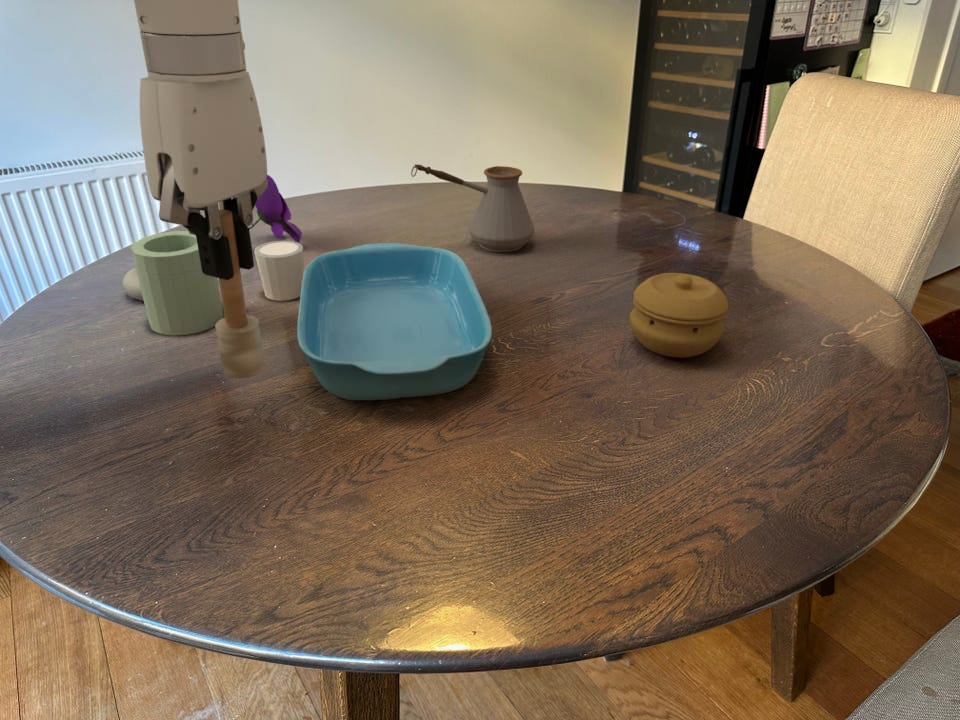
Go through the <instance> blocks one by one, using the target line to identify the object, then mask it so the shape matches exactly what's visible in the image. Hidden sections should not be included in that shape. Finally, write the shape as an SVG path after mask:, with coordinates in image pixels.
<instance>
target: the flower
mask: <svg viewBox="0 0 960 720" xmlns="http://www.w3.org/2000/svg"><path fill="white" fill-rule="evenodd" d="M266 179H267V181H268V187H267V189H266V190H265V191H264V192H263V193H262V194H261V195H260V196H259V198H257V201H256V204H255V206H254V207H255V208H256V214H257V216H258V219H257V220H256V221H255V222H254V223H252V224H251V226H249V231H250V230H251V229H253V228H254V227H256V225H257V224H258V223H259V222H260V221H261V222H263V223H264V224H266V225H268V226H270V230H271V232H272V234H273V236H274V237H278V238H283V236H284V232H285V233H286V234H287V235H289V236H290V237H291V238H292V240H293V241H294V242H297V243H300V244H301V239H302V235H303V232H302V231H301V229H300V228H299V227H298V226H297V225H296V224H295V223H292V222H290V221H291V219H292V213H291V211H290V208H289V206H288V204H287V202H286V200H285V198H284V196H283V195H282V193H281V192H280V190H279V187H278V185H277V183H276V181H275V180H274V179H273V177H272V176H270V174H267V177H266Z"/></svg>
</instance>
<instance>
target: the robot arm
mask: <svg viewBox="0 0 960 720" xmlns="http://www.w3.org/2000/svg"><path fill="white" fill-rule="evenodd" d="M133 2H134V8H135V13H136V17H137V23H138V28H139V35H140V40H141V44H142V45H141V46H142V50H143V57H144V61H145V62H144V63H145V66H146V67H145V68H146V72H147V76H146V77H141V78H140V83H139V118H140V119H139V123H140V133H141V134H140V135H141V144H142V151H143V158H144V166H145V172H146V177H147V183H148V188H149V191H150V195H151V196H152V198H153V200H156V201H159V202H160V203H159V210H158V219H159V220H160V221H161V222H163V223H164V222H165V223H169V224H175V225H179V226H180V225H181V226H183V228H185V229H186V230H187V231H189V233H190V234H192V235H196V239H197V245H198V251H199V256H200V262H201V268H202V272H203V273H204V274H205V275H208V276H212V277H216V278H217V279H219V278H221V279H225V280H229V279H231V278H233V276H234V271H233V264H232V258H231V251H230V244H229V239H228V237H226V236H222V226H221V220H220V213H219V210H229V211H231V212H232V217H233V224H234V231H235V238H236V244H237V251H238V258H239V265H240V269H242V270H243V269H244V270H248V271H249V270H251V269H253V268H254V267H255V261H254V255H253V253H254V252H253V247H252V240H251V238H252V237H251V231H250V230H249V228H250V227H251V226H252V223H253V222H254V213H253V211H254V209H255V207H256V206H255V204H256V201H257V198H259V196H260V195H261V194H262V193H263V192H264V191H265V190H266V189H267V187H268V181H267V179H266V177H267V175H268V161H267V159H268V157H267V150H266V142H265V135H264V130H263V123H262V120H261V119H262V118H261V114H260V109H259V105H258V99H257V97H256V92H255V89H254V86H253V82H252V79H251V76H250V73H249V71H247V63H246V55H245V49H246V43H245V41H244V39H243V32H242V25H241V24H242V23H241V15H240V7H239V0H133ZM201 211H203V212H204V215H202V214H201ZM253 224H254V223H253Z"/></svg>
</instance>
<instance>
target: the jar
mask: <svg viewBox="0 0 960 720" xmlns="http://www.w3.org/2000/svg"><path fill="white" fill-rule="evenodd" d="M130 251H131V255H132V259H133V263H134V268H135V267H136V271H137V276H138V280H139V284H140V288H141V292H142V296H143V300H144V301H143V303H144V307H145V313H146V315H147V320H148V325H149V327H150V329H151V330H152V331H153V332H155V333H157V334H160V335H165V336H188V335H193V334H197V333H202V332H204V331H207V330H209V329H212V328H214V327H215V325H216V323H217V322H218V321H219V320H221V319H223V318H224V309H223V302H222V297H221V292H220V286H219V281H218V278H216V277H212V276H208V275H205V274H204V273H203V272H202V268H201V262H200V256H199V251H198V245H197V239H196V235H192V234H190V233H189V231H188V230H177V231H176V230H173V231H165V232H160V233H155V234H151V235H147V236H145V237H142V238H140V239H138V240H137V241H134V243H133V244H131V246H130Z"/></svg>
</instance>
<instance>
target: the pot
mask: <svg viewBox="0 0 960 720" xmlns="http://www.w3.org/2000/svg"><path fill="white" fill-rule="evenodd" d="M632 303H633V304H634V306H635V307H633V309H632V310H631V312H630V313H629V324H630V327H631V329H632V331H633V333H634V335H635V337H636V339H637V340H638V342H640V344H641V345H642V346H644V347H645V348H646V349H648V350H649V351H651V352H653V353H655V354H658V355H661V356H665V357H669V358H677V359H683V358H684V359H687V358H692V357H697V356H699V355H702V354H704V353H707V352H708V351H709V350H711V349H712V348H713V347H714V346H715V345H716V344H717V343H718V342H719V340H720V339H721V338H722V337H723V335H724V332H725V327H726V326H725V323H724V320H723V319H724V318H725V317H726V316H727V315H728V312H729V302H728V298H727V297H726V295H725V293H724V292H723V290H722V289H721V288H719V286H718V285H716V284H715V283H714V282H712V281H711V280H709V279H707V278H703V277H701V276H698V275H694V274H689V273H684V272H683V273H682V272H665V273H659V274H656V275H652V276H651V277H648V278H646V279H645V280H643V282H641V283H640V284H638V286H637V287H636V288H635V290H634V291H633V296H632Z"/></svg>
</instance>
